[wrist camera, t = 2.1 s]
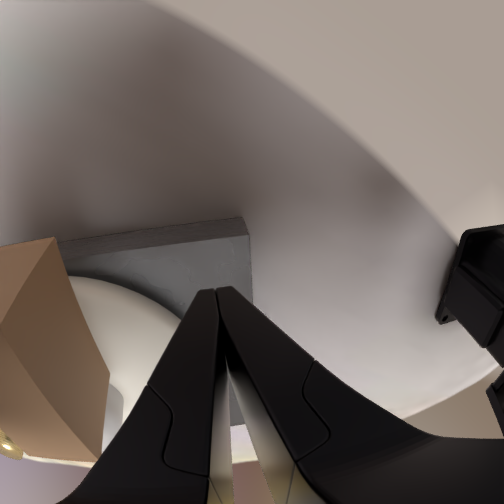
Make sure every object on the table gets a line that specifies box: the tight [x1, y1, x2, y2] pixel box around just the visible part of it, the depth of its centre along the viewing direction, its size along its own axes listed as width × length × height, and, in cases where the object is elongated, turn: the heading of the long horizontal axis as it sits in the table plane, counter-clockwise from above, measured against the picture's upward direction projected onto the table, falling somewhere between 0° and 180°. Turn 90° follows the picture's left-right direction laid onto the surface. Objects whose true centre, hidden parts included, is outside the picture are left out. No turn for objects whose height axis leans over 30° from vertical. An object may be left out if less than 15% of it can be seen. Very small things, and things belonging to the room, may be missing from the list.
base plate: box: [57, 217, 253, 426], centre depth 14 cm, size 15×12×2 cm
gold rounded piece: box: [0, 429, 23, 460], centre depth 12 cm, size 2×2×4 cm
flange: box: [0, 237, 181, 462], centre depth 10 cm, size 11×13×5 cm
